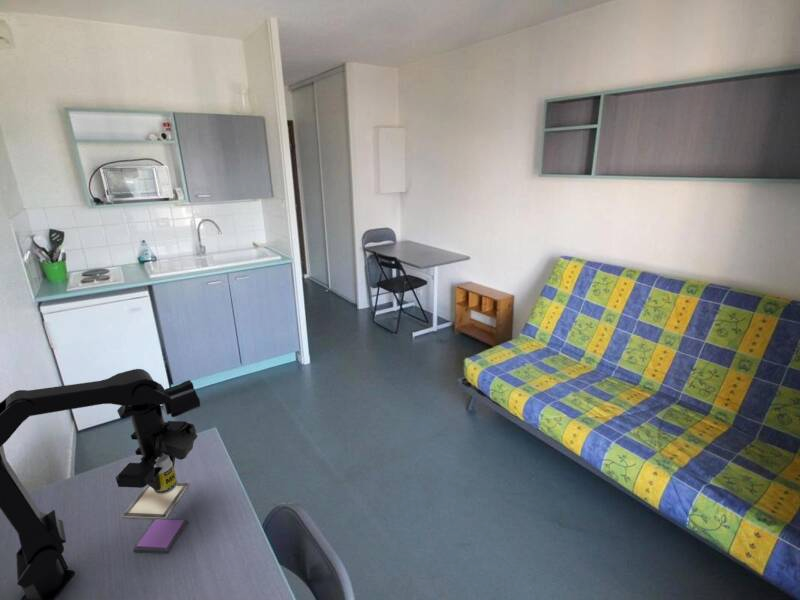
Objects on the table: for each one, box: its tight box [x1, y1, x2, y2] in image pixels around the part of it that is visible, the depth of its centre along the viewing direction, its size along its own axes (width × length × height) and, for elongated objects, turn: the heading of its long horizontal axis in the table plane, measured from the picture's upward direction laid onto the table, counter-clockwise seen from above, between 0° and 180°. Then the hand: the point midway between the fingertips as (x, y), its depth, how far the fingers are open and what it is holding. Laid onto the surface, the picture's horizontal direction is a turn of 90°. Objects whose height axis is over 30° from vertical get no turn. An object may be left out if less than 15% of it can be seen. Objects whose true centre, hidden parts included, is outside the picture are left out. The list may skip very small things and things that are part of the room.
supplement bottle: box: [155, 454, 178, 495], centre depth 97 cm, size 5×5×8 cm
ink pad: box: [132, 518, 189, 554], centre depth 97 cm, size 8×8×1 cm
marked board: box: [121, 482, 190, 520], centre depth 107 cm, size 11×11×1 cm
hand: (164, 481), depth 98 cm, fingers closed on supplement bottle, 5 cm apart
